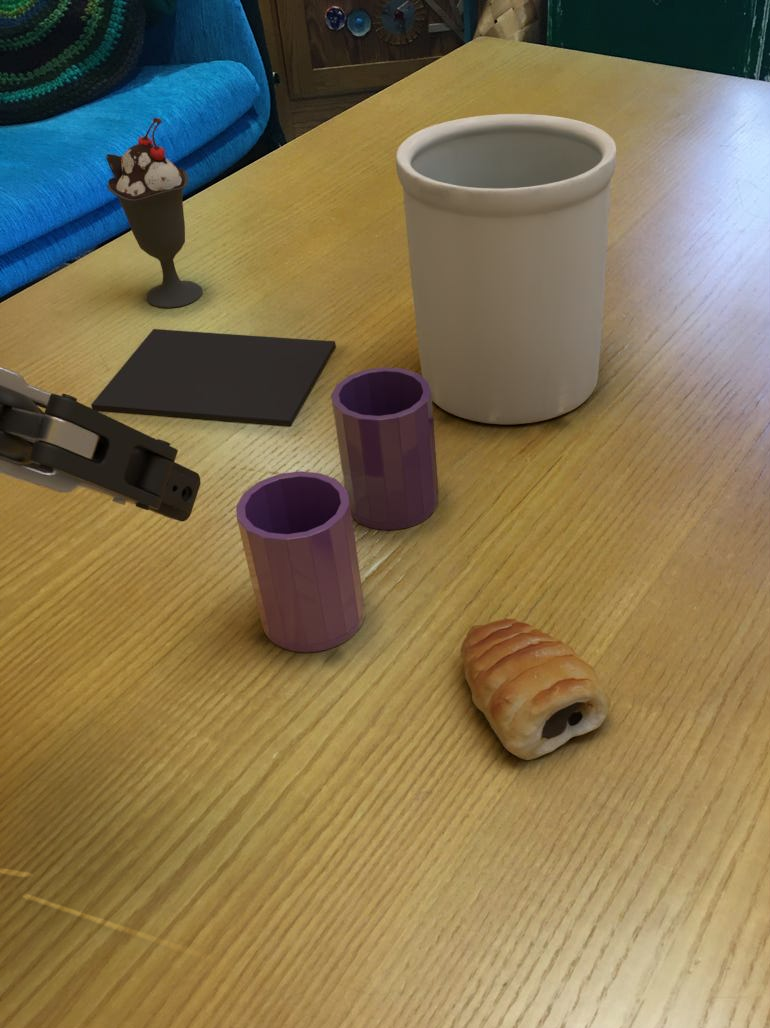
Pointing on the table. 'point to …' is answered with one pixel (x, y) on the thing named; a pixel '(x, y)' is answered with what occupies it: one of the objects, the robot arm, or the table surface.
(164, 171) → the sundae
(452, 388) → the utensil holder
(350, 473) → the purple tumbler
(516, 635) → the pastry
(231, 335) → the mat
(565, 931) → the table surface
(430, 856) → the table surface
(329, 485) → the purple cup
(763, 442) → the table surface
